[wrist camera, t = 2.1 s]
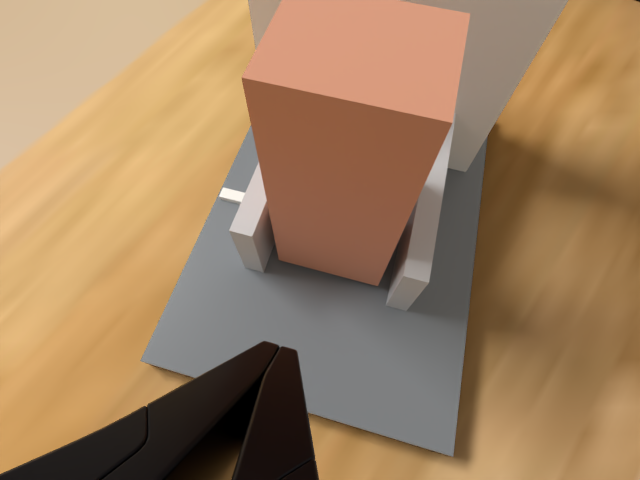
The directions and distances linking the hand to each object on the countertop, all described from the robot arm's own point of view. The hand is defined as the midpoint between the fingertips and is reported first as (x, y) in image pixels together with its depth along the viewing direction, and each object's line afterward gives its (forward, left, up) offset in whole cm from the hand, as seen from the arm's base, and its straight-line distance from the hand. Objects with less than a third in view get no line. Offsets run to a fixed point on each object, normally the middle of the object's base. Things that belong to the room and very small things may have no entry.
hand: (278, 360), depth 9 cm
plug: (+7, -1, -8) cm, 11 cm away
